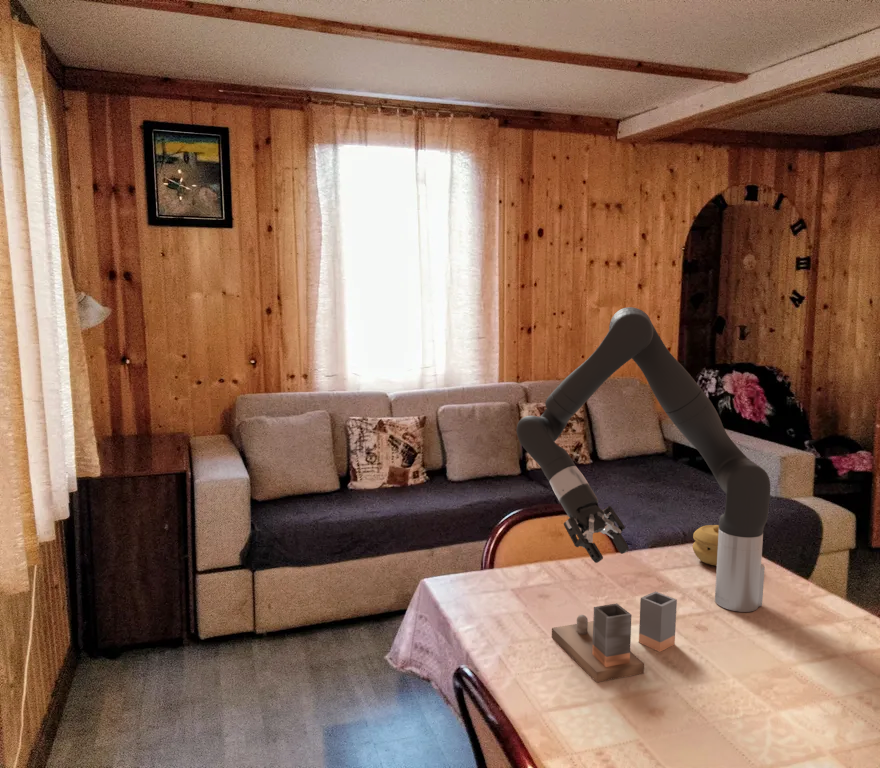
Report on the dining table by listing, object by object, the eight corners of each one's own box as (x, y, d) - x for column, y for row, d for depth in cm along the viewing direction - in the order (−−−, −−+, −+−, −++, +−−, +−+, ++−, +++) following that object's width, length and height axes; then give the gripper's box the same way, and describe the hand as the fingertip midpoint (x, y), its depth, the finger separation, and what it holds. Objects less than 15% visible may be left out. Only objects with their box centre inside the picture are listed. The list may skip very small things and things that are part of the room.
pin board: (594, 629, 153) (596, 577, 152) (643, 673, 136) (646, 615, 135) (551, 637, 150) (552, 583, 149) (596, 682, 133) (598, 622, 132)
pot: (719, 551, 198) (721, 516, 196) (750, 567, 186) (752, 530, 185) (682, 556, 194) (684, 520, 192) (711, 573, 183) (713, 535, 181)
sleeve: (638, 642, 148) (640, 597, 147) (653, 634, 151) (655, 591, 150) (659, 652, 144) (661, 606, 143) (674, 644, 147) (676, 599, 146)
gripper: (560, 488, 155) (601, 555, 148) (604, 477, 164) (644, 540, 157) (541, 506, 160) (580, 572, 153) (585, 494, 169) (623, 556, 161)
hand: (612, 556), depth 155 cm, fingers open, 8 cm apart
